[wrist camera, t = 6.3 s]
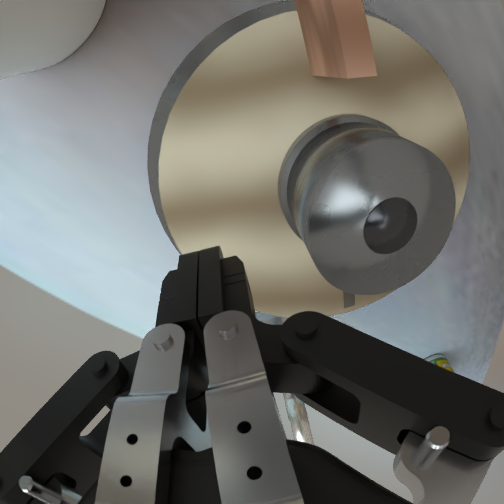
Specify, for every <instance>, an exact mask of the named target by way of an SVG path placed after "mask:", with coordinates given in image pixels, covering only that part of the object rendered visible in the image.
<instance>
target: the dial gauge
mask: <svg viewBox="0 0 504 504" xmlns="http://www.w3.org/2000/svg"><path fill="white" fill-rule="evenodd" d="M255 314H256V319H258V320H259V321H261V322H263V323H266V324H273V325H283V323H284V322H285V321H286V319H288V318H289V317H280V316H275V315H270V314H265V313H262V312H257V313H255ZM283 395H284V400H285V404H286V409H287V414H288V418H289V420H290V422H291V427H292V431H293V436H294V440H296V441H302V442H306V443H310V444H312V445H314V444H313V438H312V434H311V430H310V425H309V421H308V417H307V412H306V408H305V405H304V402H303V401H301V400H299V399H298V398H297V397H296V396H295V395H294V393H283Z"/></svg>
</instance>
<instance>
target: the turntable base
mask: <svg viewBox="0 0 504 504" xmlns="http://www.w3.org/2000/svg"><path fill="white" fill-rule="evenodd" d="M294 1H295V0H292V1H285V2H279V3H273V4H270V5H266V6H263V7H260V8H257V9H254V10H251V11H248V12H246V13H244V14H242V15H240V16H238V17H236V18H234V19H232V20H230V21H228V22H226V23H225V24H223V25H222V26H221V27H219V28H218V29H216V30H215V31H214V32H212V33H211V34H209V35H208V36H207V37H205V38H204V39H203V40H202V41H201V42H200V43H199V44H198V45H197V46H196V47H195V48H194V49H193V50H192V51H191V52H190V53H189V54H188V55H187V56H186V58H185V59H184V60H183V62H182V63H181V64H180V66H179V67H178V68H177V70H176V71H175V72H174V74H173V75H172V77H171V79H170V81H169V82H168V84H167V86H166V88H165V90H164V92H163V94H162V96H161V98H160V100H159V103H158V106H157V109H156V112H155V115H154V118H153V121H152V126H151V132H150V137H149V143H148V176H149V184H150V191H151V195H152V198H153V202H154V206H155V209H156V212H157V215H158V217H159V219H160V221H161V224H162V226H163V228H164V230H165V232H166V234H167V235H168V237H169V238H170V240H171V242H172V243H173V245H174V246H175V248H176V249H177V250H178V252H179V253H180V254H181V255H182V253H181V252H180V250H179V249H178V247H177V245H176V243H175V241H174V239H173V237H172V235H171V233H170V230H169V228H168V225H167V222H166V219H165V216H164V212H163V209H162V204H161V197H160V191H159V156H160V149H161V143H162V137H163V134H164V130H165V127H166V124H167V121H168V118H169V115H170V112H171V110H172V108H173V106H174V104H175V102H176V100H177V98H178V96H179V94H180V92H181V90H182V88H183V87H184V85H185V84H186V83H187V81H188V80H189V78H190V77H191V75H192V74H193V73H194V71H195V70H196V68H197V67H198V66H199V65H200V64H201V63H202V62H203V61H204V60H205V59H206V58H207V57H208V56H209V55H210V54H211V53H212V52H213V51H214V50H215V49H216V48H217V47H219V46H220V45H221V44H222V43H224V42H225V41H226V40H228V39H229V38H230V37H232V36H233V35H235V34H236V33H238V32H239V31H241V30H243V29H245V28H247V27H249V26H251V25H253V24H255V23H257V22H259V21H261V20H264V19H267V18H269V17H272V16H275V15H278V14H282V13H285V12H291V11H296V10H297V9H296V5H295V2H294ZM365 15H369V16H372V17H375V18H378V19H380V20H382V21H384V22H386V23H388V24H390V25H392V26H394V27H396V26H395V25H393V24H392V23H390V22H389V21H387V20H385V19H383V18H381V17H379V16H377V15H375V14H373V13H371V12H369V11H367V10H365ZM396 28H397V27H396ZM398 29H399V28H398ZM401 31H402V30H401Z"/></svg>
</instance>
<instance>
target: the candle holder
mask: <svg viewBox="0 0 504 504" xmlns="http://www.w3.org/2000/svg"><path fill="white" fill-rule="evenodd" d="M105 2H106V0H0V80H2V79H6V78H10V77H14V76H18V75H22V74H26V73H30V72H34V71H38V70H42V69H45V68H48V67H51V66H53V65H55V64H57V63H59V62H61V61H62V60H64V59H66V58H67V57H68V56H70V55H71V54H72V53H73V52H75V51H76V50H77V49H78V48H79V47H80V46H81V45H82V44H83V43H84V42H85V41H86V39H87V38H88V37H89V35H90V34H91V33H92V31H93V30H94V28H95V27H96V25H97V23H98V21H99V19H100V17H101V15H102V12H103V9H104V6H105Z"/></svg>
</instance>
